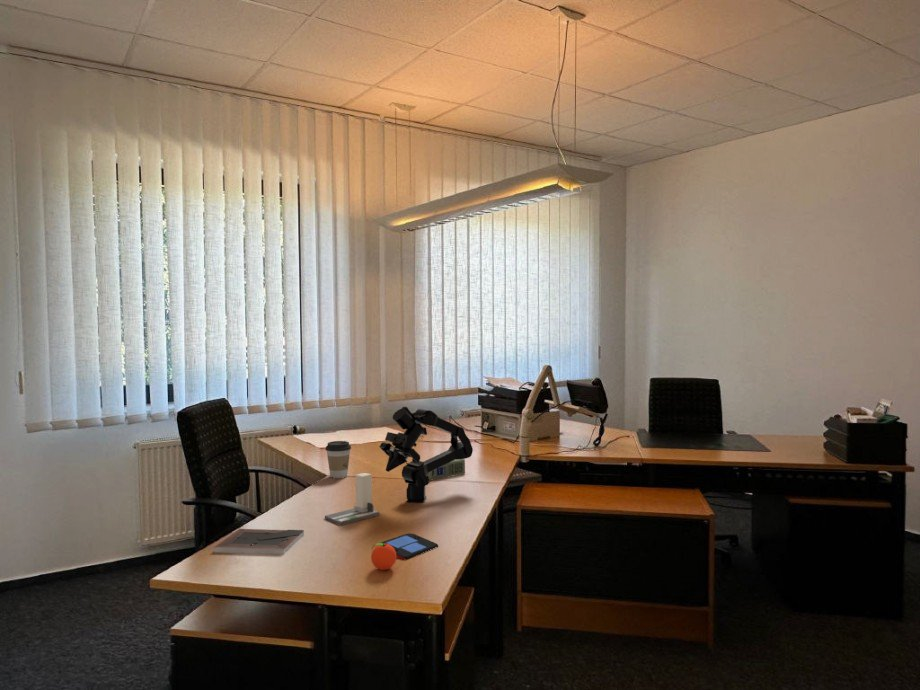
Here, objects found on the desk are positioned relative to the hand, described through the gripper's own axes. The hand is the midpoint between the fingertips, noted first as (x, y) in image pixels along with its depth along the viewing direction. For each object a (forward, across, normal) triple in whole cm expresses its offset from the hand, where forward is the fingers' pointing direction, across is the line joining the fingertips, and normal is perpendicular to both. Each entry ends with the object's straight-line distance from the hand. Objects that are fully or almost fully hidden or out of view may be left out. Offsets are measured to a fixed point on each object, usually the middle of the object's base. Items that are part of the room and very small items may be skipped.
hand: (386, 471), depth 228 cm
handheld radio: (-21, -20, +41) cm, 50 cm away
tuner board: (+20, 0, -1) cm, 20 cm away
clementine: (+34, +45, -15) cm, 58 cm away
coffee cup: (+1, -53, +18) cm, 56 cm away
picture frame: (+46, +2, -25) cm, 52 cm away
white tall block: (+16, +1, +1) cm, 16 cm away
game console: (+24, +37, -4) cm, 45 cm away
